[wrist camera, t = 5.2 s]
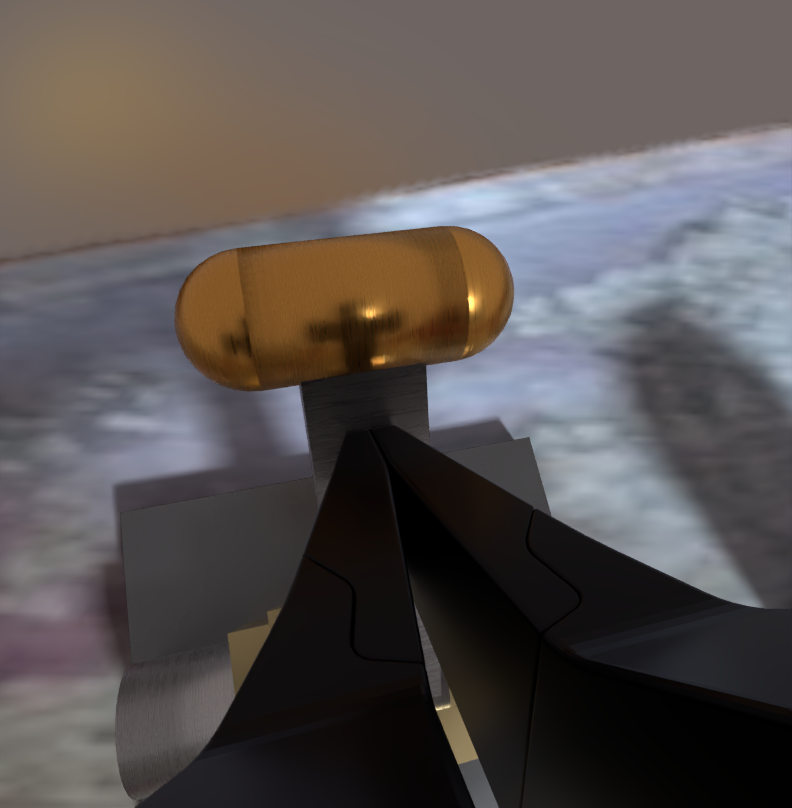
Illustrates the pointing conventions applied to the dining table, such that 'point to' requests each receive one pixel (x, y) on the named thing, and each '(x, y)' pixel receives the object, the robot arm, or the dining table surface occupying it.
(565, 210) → the dining table surface
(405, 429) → the lever
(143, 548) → the valve base
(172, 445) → the dining table surface
